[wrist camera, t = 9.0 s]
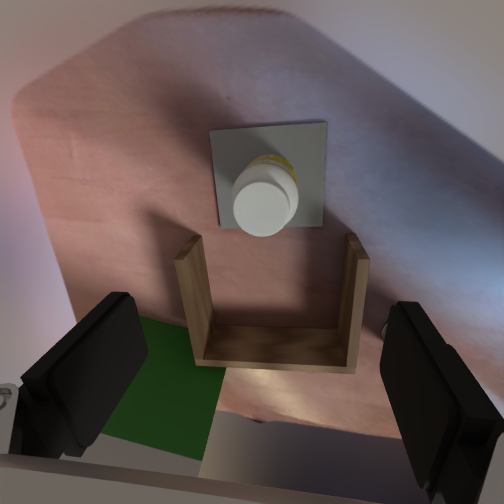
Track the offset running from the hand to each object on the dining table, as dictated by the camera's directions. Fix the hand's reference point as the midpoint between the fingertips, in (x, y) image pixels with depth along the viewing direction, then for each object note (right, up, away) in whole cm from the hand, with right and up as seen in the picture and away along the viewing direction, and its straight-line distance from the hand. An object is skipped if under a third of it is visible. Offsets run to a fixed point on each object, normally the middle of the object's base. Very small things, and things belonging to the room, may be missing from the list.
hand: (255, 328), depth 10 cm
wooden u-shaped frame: (+2, -2, +23) cm, 24 cm away
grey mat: (+2, +10, +18) cm, 21 cm away
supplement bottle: (+2, +10, +18) cm, 20 cm away
